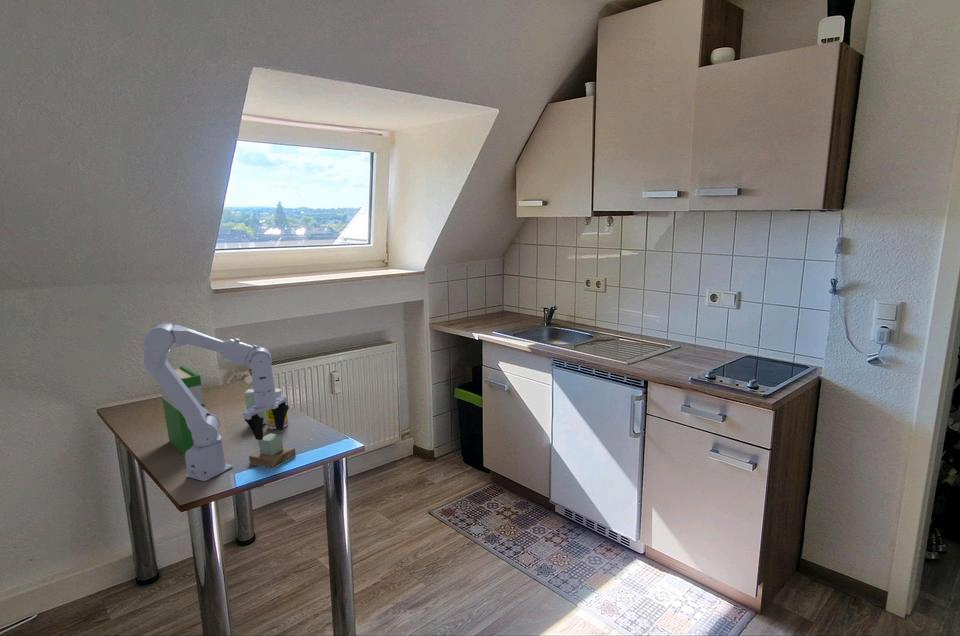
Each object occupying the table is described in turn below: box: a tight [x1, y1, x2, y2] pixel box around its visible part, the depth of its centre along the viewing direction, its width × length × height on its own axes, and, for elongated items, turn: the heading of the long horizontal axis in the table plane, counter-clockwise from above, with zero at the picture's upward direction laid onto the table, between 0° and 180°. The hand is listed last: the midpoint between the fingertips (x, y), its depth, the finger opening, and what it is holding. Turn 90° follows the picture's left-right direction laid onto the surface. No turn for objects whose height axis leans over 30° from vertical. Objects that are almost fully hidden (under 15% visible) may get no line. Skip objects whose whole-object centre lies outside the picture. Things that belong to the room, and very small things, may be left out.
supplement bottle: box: [266, 387, 289, 430], centre depth 187 cm, size 7×7×13 cm
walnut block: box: [248, 445, 297, 469], centre depth 162 cm, size 9×9×3 cm
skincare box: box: [243, 388, 267, 425], centre depth 191 cm, size 6×4×12 cm
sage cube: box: [258, 433, 284, 456], centre depth 161 cm, size 4×4×4 cm
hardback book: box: [159, 365, 206, 457], centre depth 174 cm, size 18×7×24 cm, turn 43°
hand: (269, 434), depth 161 cm, fingers open, 7 cm apart
